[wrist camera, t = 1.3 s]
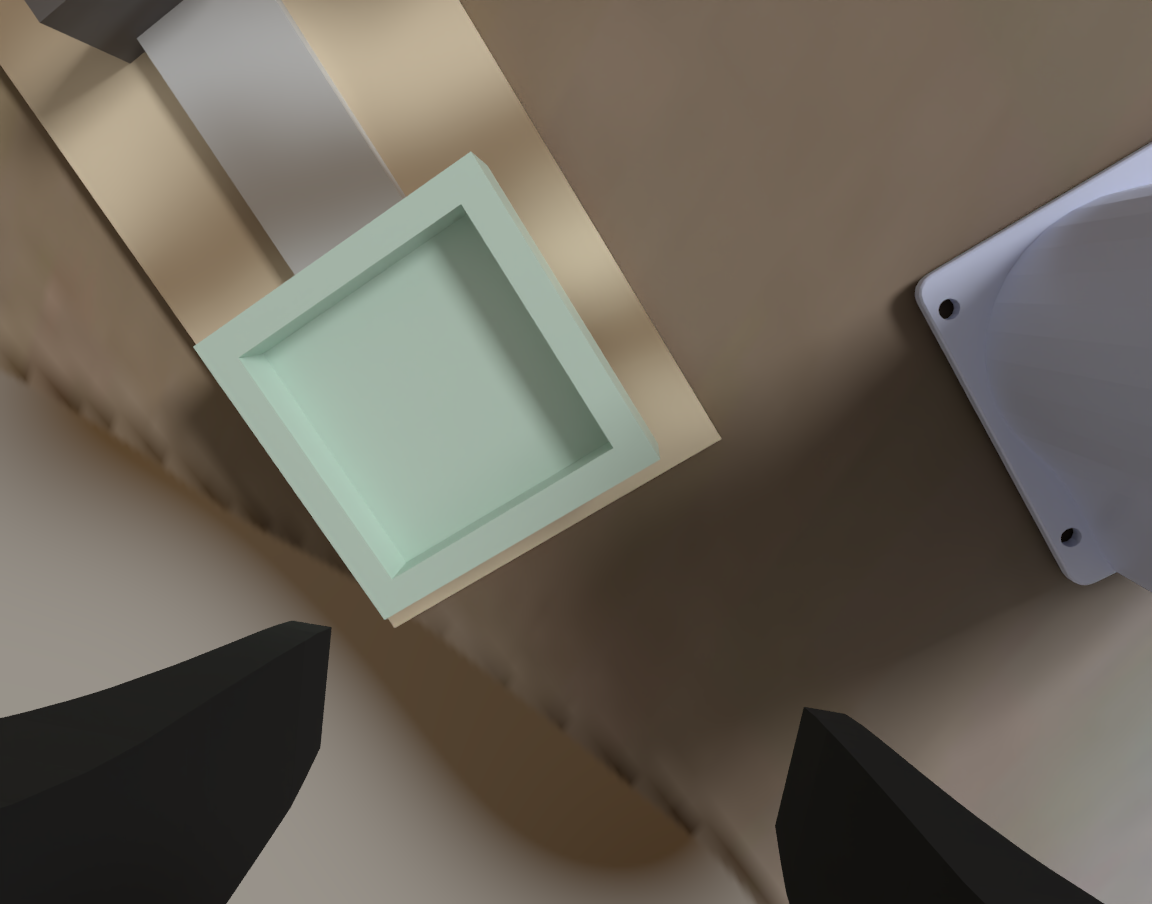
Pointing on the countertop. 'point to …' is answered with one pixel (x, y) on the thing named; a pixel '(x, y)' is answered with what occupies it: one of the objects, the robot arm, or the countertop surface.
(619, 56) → the countertop surface
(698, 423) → the beige rectangular board
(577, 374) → the holder
